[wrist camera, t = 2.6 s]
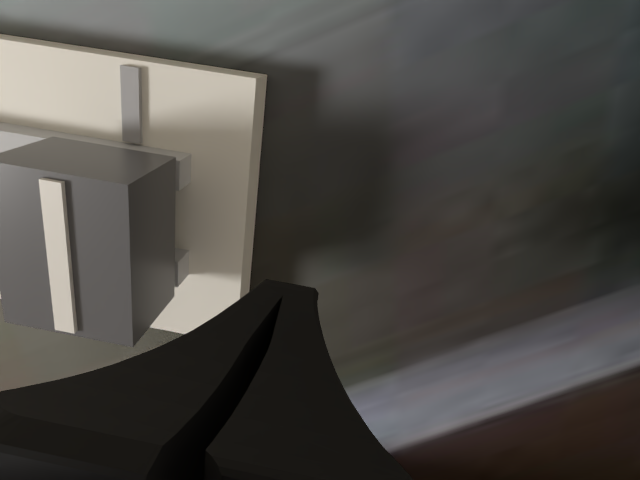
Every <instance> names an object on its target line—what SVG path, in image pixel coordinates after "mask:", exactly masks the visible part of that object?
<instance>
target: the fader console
mask: <svg viewBox="0 0 640 480" xmlns="http://www.w3.org/2000/svg"><path fill="white" fill-rule="evenodd" d="M266 85H267V75H266V74H260V73H253V72H247V71H240V70H234V69H227V68H221V67H214V66H208V65H201V64H194V63H188V62H181V61H175V60H168V59H162V58H155V57H149V56H142V55H136V54H129V53H123V52H116V51H110V50H103V49H97V48H90V47H84V46H77V45H71V44H64V43H58V42H51V41H44V40H38V39H31V38H25V37H18V36H12V35H5V34H0V153H1V152H4V151H7V150H11V149H14V148H17V147H20V146H24V145H27V144H30V143H33V142H37V141H40V140H43V139H46V138H49V137H59V138H65V139H71V140H77V141H83V142H89V143H95V144H101V145H107V146H113V147H119V148H125V149H131V150H137V151H143V152H149V153H155V154H161V155H167V156H173V157H176V196H175V289H174V298H173V299H172V300H171V301H170V302H169V304H168V305H167V306H166V307H165V309H164V310H163V311H162V312H161V313H160V315H159V316H158V317H157V318H156V320H155V321H154V322H153V323H152V325H151V326H150V327H151V328H157V329H162V330H167V331H172V332H177V333H183V334H186V333H188V332H190V331H192V330H194V329H195V328H197V327H199V326H200V325H202V324H204V323H205V322H207V321H208V320H210V319H212V318H213V317H215V316H216V315H218V314H219V313H221V312H222V311H224V310H225V309H226V308H228V307H229V306H231V305H232V304H234V303H235V302H236V301H238V300H239V299H240V298H242V297H243V296H244V295H246V294H247V293H248V292H249V289H250V277H251V265H252V253H253V241H254V229H255V217H256V205H257V193H258V181H259V169H260V157H261V145H262V133H263V121H264V109H265V97H266ZM0 298H1V295H0Z"/></svg>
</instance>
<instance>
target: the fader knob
mask: <svg viewBox="0 0 640 480" xmlns="http://www.w3.org/2000/svg"><path fill="white" fill-rule="evenodd" d="M175 196H176V157H173V156H167V155H161V154H155V153H149V152H143V151H137V150H131V149H125V148H119V147H113V146H107V145H101V144H95V143H89V142H83V141H77V140H71V139H65V138H59V137H49V138H46V139H43V140H40V141H37V142H33V143H30V144H27V145H24V146H20V147H17V148H14V149H11V150H7V151H4V152H1V153H0V295H1V301H2V307H3V314H4V320H5V322H7V323H12V324H17V325H22V326H27V327H33V328H38V329H43V330H48V331H53V332H58V333H63V334H68V335H73V336H79V337H84V338H89V339H94V340H99V341H104V342H109V343H114V344H119V345H124V346H130V347H134V345H135V344H136V343H137V342H138V340H139V339H140V338H141V337H142V336H143V334H144V333H145V332H146V331H147V329H148V328H149V327H150V326H151V325H152V323H153V322H154V321H155V320H156V318H157V317H158V316H159V315H160V313H161V312H162V311H163V310H164V309H165V307H166V306H167V305H168V304H169V302H170V301H171V300H172V299H173V298H174V289H175Z"/></svg>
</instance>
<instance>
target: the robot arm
mask: <svg viewBox="0 0 640 480" xmlns="http://www.w3.org/2000/svg"><path fill="white" fill-rule="evenodd" d="M317 300H318V292H317V290H316V289H315V288H311V287H306V286H300V285H295V284H289V283H284V282H278V281H273V280H267V279H266V280H265V281H263V282H262V283H260V284H259V285H258V286H256V287H255V288H254V289H252V290H251V291H250V292H248V293H247V294H246V295H244V296H243V297H242V298H240V299H239V300H238V301H236V302H235V303H234V304H232V305H231V306H229V307H228V308H226V309H225V310H224V311H222V312H221V313H219V314H218V315H216V316H215V317H213V318H212V319H210V320H208V321H207V322H205V323H204V324H202V325H200V326H199V327H197V328H195V329H194V330H192V331H190V332H188V333H186V334H184V335H183V336H181V337H179V338H177V339H175V340H172V341H170V342H168V343H166V344H164V345H162V346H160V347H157V348H155V349H153V350H150V351H148V352H145V353H142V354H140V355H137V356H134V357H132V358H129V359H127V360H124V361H121V362H119V363H116V364H113V365H110V366H106V367H103V368H100V369H97V370H94V371H90V372H86V373H83V374H79V375H75V376H72V377H68V378H64V379H60V380H55V381H50V382H45V383H41V384H36V385H31V386H26V387H21V388H16V389H11V390H5V391H1V392H0V480H413V479H412V478H411V476H410V475H409V474H408V473H407V472H406V471H405V470H404V469H403V468H402V466H401V465H400V464H399V463H398V462H397V461H396V460H395V459H394V458H393V457H392V456H391V455H390V454H389V453H388V452H387V451H386V450H385V448H384V447H383V446H382V445H381V444H380V443H379V441H378V440H377V439H376V437H375V436H374V435H373V434H372V432H371V431H370V430H369V428H368V427H367V425H366V424H365V422H364V421H363V419H362V418H361V416H360V414H359V413H358V411H357V410H356V408H355V407H354V405H353V404H352V402H351V401H350V399H349V397H348V395H347V393H346V391H345V390H344V388H343V386H342V384H341V382H340V380H339V378H338V375H337V373H336V371H335V369H334V366H333V364H332V361H331V359H330V356H329V353H328V350H327V347H326V344H325V341H324V338H323V334H322V330H321V326H320V321H319V315H318V308H317Z"/></svg>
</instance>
